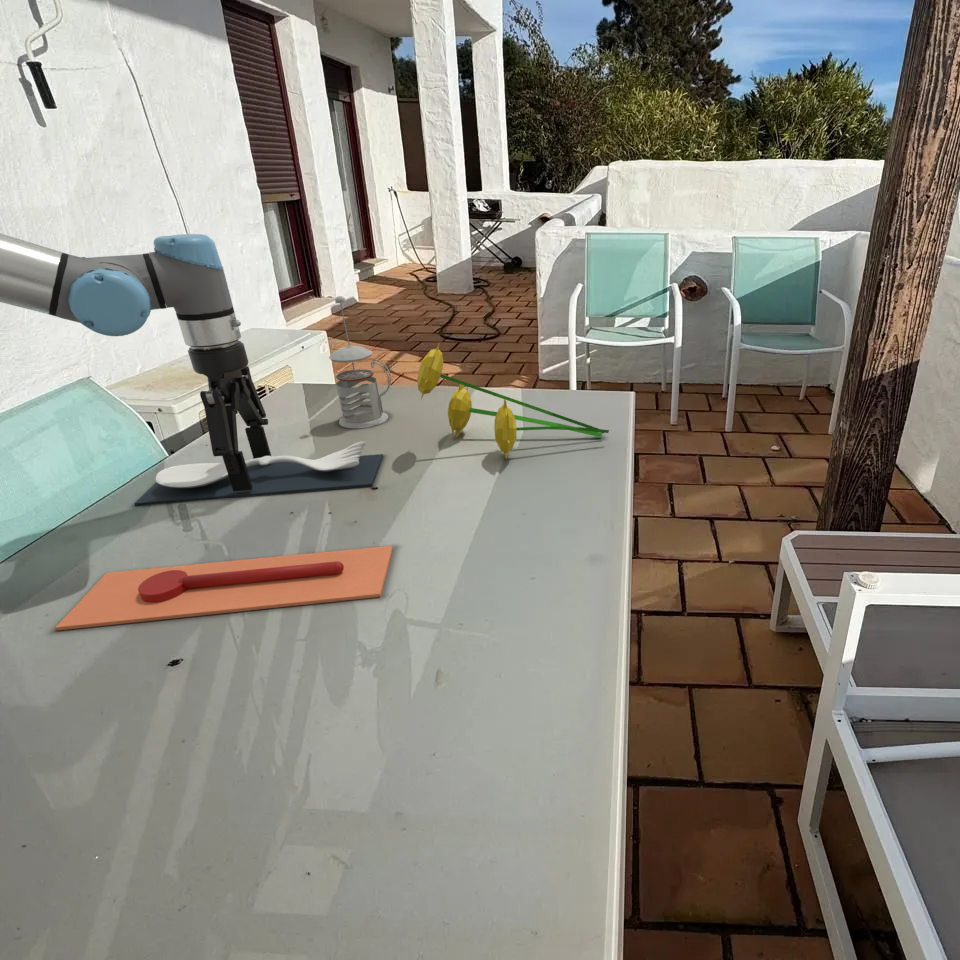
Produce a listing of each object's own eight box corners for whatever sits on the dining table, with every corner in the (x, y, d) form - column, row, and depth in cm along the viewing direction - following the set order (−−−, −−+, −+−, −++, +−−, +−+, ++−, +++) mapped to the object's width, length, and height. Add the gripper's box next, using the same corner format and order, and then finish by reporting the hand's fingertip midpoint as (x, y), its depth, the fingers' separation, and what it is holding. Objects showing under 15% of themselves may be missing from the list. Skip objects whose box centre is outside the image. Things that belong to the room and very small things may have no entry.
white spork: (362, 478, 105) (358, 459, 104) (150, 499, 100) (143, 480, 98) (368, 456, 113) (365, 438, 112) (173, 475, 108) (166, 456, 106)
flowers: (594, 410, 132) (428, 351, 123) (626, 400, 111) (429, 328, 102) (571, 484, 132) (402, 430, 122) (599, 488, 110) (398, 423, 101)
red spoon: (132, 605, 76) (128, 594, 75) (153, 579, 80) (149, 569, 80) (340, 584, 79) (337, 573, 78) (348, 560, 83) (346, 550, 83)
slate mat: (135, 506, 99) (133, 503, 99) (169, 473, 110) (168, 470, 110) (372, 486, 104) (371, 483, 104) (383, 456, 114) (383, 454, 114)
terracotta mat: (56, 630, 73) (54, 627, 72) (108, 575, 82) (106, 572, 82) (380, 597, 77) (379, 593, 77) (393, 548, 87) (392, 545, 87)
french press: (345, 412, 135) (320, 292, 124) (400, 409, 136) (380, 290, 125) (333, 429, 126) (304, 302, 115) (392, 426, 127) (370, 299, 116)
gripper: (212, 362, 87) (255, 505, 97) (264, 325, 106) (295, 447, 116) (153, 366, 86) (203, 509, 96) (217, 328, 105) (252, 450, 115)
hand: (254, 475), depth 106 cm, fingers open, 10 cm apart
